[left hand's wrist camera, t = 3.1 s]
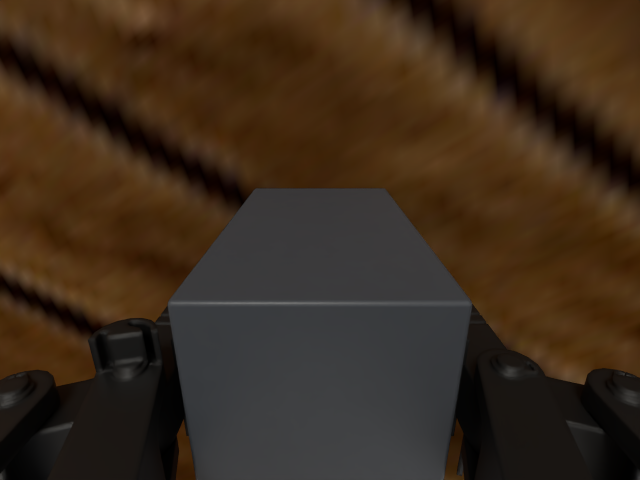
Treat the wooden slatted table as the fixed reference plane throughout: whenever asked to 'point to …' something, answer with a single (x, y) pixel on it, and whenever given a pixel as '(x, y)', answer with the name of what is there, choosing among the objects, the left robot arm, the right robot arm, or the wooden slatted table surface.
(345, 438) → the bar
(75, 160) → the wooden slatted table surface
